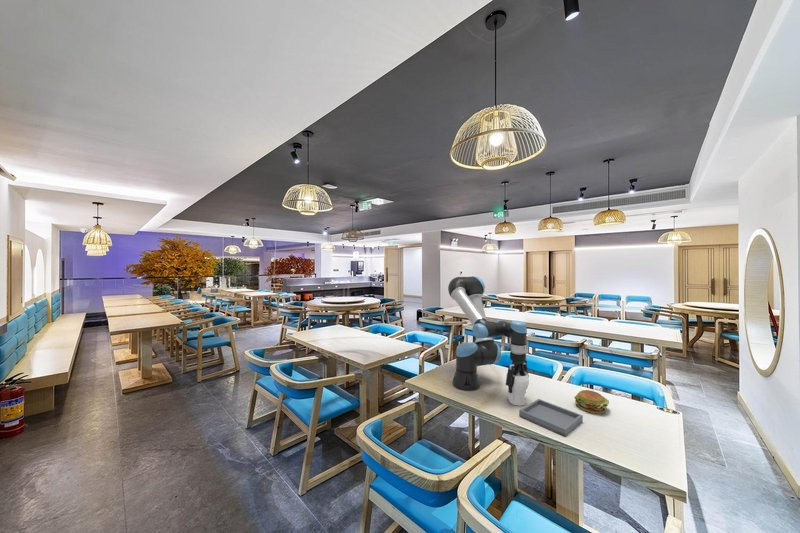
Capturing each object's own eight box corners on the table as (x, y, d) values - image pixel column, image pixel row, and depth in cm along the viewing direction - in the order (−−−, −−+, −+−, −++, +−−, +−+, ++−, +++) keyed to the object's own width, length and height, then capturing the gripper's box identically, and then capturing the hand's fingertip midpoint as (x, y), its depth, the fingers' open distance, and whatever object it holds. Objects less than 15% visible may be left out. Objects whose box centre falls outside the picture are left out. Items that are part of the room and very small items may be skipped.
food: (596, 418, 137) (596, 401, 137) (568, 404, 150) (569, 388, 150) (616, 413, 142) (616, 396, 142) (587, 399, 155) (588, 384, 155)
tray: (519, 416, 138) (519, 410, 138) (538, 404, 150) (538, 398, 150) (565, 436, 123) (565, 429, 123) (582, 421, 134) (582, 415, 134)
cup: (530, 408, 146) (531, 377, 145) (507, 406, 148) (508, 376, 148) (525, 398, 156) (526, 369, 156) (504, 396, 158) (505, 368, 158)
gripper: (512, 358, 141) (511, 405, 142) (536, 349, 156) (535, 391, 156) (498, 354, 147) (497, 399, 148) (522, 346, 161) (522, 386, 162)
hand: (517, 395), depth 152 cm, fingers closed on cup, 10 cm apart
